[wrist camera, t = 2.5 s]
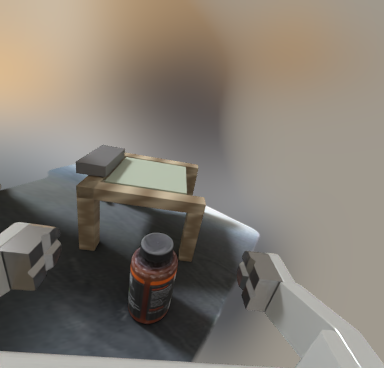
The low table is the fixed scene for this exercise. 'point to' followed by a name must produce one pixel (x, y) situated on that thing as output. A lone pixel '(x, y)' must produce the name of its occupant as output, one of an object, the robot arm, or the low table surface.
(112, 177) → the trapdoor
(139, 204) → the frame
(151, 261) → the supplement bottle
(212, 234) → the low table surface
